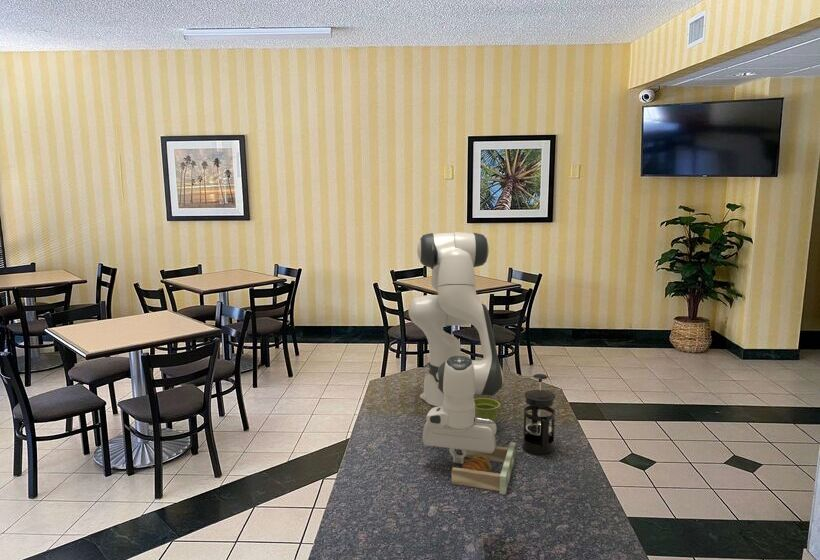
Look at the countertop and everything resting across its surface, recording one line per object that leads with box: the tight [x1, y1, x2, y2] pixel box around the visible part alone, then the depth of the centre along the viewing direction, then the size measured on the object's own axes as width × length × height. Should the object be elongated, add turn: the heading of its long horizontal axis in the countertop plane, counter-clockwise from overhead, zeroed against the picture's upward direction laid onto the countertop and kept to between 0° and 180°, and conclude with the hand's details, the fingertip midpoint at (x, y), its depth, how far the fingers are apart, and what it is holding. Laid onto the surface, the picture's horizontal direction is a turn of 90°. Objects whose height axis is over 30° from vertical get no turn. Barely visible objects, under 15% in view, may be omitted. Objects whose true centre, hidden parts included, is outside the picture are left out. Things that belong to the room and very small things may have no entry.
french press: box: [522, 373, 556, 457], centre depth 175 cm, size 12×9×23 cm
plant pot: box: [474, 397, 501, 423], centre depth 191 cm, size 9×9×9 cm
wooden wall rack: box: [451, 441, 516, 495], centre depth 164 cm, size 20×14×5 cm
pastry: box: [461, 455, 493, 472], centre depth 164 cm, size 9×7×4 cm
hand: (458, 462), depth 166 cm, fingers closed
